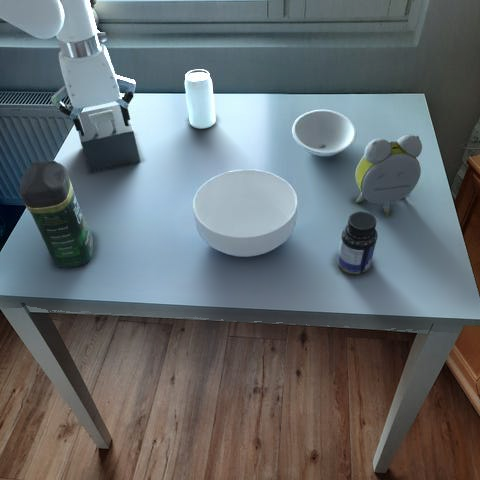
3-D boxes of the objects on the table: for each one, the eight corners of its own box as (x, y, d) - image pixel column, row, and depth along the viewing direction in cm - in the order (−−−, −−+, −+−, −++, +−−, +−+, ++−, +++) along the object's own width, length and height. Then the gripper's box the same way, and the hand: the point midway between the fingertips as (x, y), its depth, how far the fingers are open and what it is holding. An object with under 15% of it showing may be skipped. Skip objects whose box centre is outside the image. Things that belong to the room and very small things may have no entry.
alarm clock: (402, 192, 100) (421, 126, 88) (414, 213, 96) (435, 147, 84) (349, 199, 99) (360, 134, 87) (359, 220, 95) (372, 155, 83)
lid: (134, 134, 104) (128, 111, 100) (81, 145, 102) (74, 123, 98) (124, 106, 111) (119, 84, 107) (75, 117, 109) (67, 95, 105)
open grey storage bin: (141, 162, 111) (133, 132, 104) (92, 174, 109) (81, 143, 102) (132, 137, 117) (124, 106, 111) (85, 147, 115) (75, 117, 109)
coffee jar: (94, 267, 91) (60, 187, 76) (52, 272, 90) (10, 193, 75) (96, 233, 96) (65, 153, 82) (57, 238, 96) (19, 158, 81)
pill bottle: (358, 249, 90) (369, 204, 82) (376, 271, 87) (388, 225, 78) (330, 259, 89) (337, 214, 80) (346, 281, 86) (356, 236, 77)
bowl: (221, 194, 102) (218, 161, 95) (308, 215, 97) (311, 180, 90) (180, 255, 91) (174, 222, 85) (275, 282, 86) (276, 249, 80)
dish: (358, 171, 105) (361, 151, 101) (293, 173, 105) (294, 154, 101) (348, 127, 115) (350, 108, 111) (289, 129, 116) (290, 110, 112)
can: (215, 115, 122) (210, 67, 112) (215, 129, 118) (211, 81, 108) (190, 117, 122) (183, 69, 112) (190, 131, 118) (183, 83, 108)
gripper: (121, 28, 93) (140, 111, 106) (32, 44, 90) (63, 127, 104) (128, 43, 88) (146, 128, 102) (34, 61, 85) (66, 145, 99)
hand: (104, 127), depth 103 cm, fingers open, 9 cm apart
